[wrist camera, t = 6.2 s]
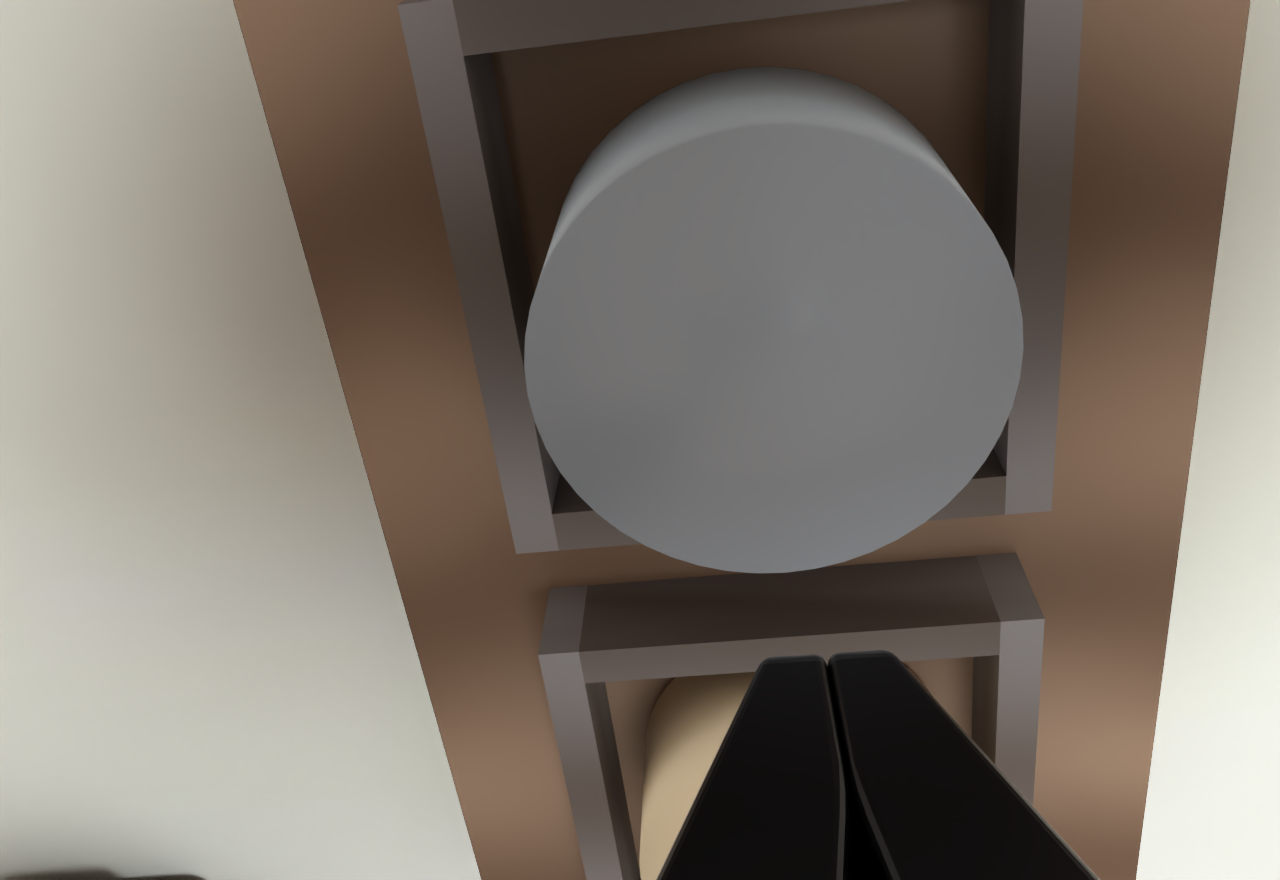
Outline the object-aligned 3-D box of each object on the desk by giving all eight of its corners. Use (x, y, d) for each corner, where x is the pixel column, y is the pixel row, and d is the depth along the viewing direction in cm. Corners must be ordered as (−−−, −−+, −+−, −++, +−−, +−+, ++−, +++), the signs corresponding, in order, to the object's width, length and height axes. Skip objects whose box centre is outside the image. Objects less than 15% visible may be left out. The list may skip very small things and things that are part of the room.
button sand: (942, 841, 20) (971, 968, 18) (663, 857, 21) (659, 981, 18) (943, 620, 18) (978, 734, 16) (627, 642, 18) (618, 758, 16)
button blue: (966, 442, 15) (1013, 554, 12) (583, 475, 15) (565, 589, 13) (973, 41, 12) (1035, 93, 10) (517, 95, 13) (481, 156, 10)
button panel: (1097, 833, 23) (1161, 997, 20) (515, 864, 24) (488, 1024, 21) (1341, -1542, 9) (1672, -2223, 6) (-24, -1209, 10) (-330, -1641, 7)
